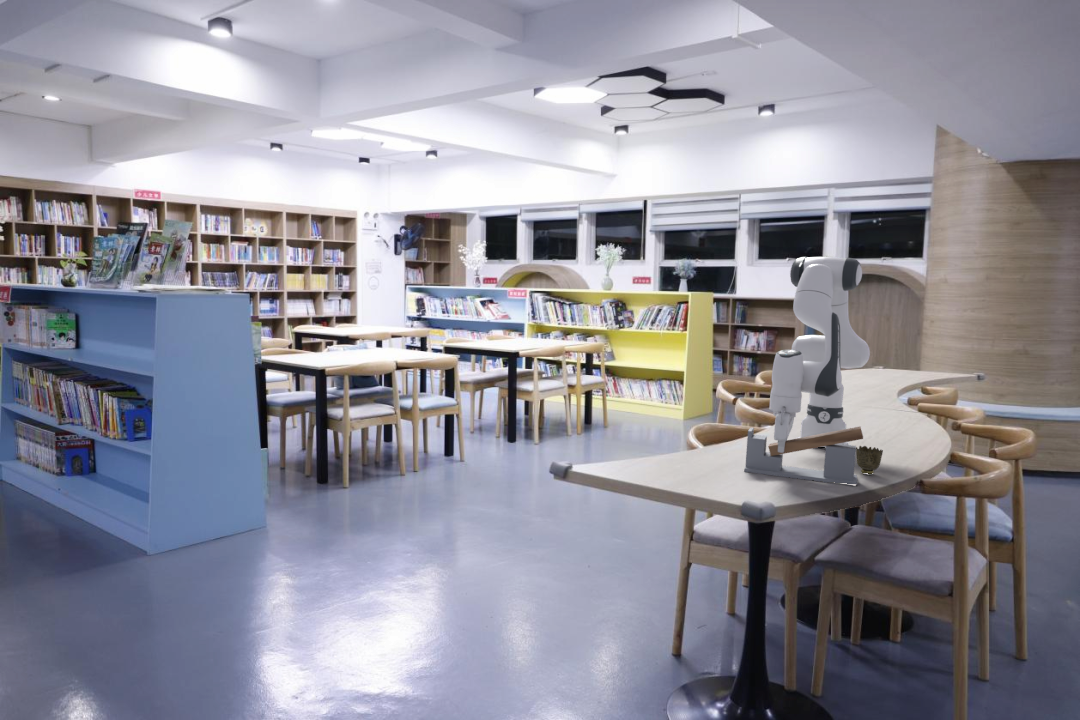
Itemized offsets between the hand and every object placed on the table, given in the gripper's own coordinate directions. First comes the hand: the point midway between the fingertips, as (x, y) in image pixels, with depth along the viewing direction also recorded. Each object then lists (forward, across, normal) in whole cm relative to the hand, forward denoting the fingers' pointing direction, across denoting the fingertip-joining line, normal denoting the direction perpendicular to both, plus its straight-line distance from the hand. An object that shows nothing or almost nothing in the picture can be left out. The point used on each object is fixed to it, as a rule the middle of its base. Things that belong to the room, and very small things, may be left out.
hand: (781, 450), depth 221 cm
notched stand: (+7, 0, -6) cm, 9 cm away
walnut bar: (+2, 0, -9) cm, 9 cm away
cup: (+7, +12, -24) cm, 28 cm away
